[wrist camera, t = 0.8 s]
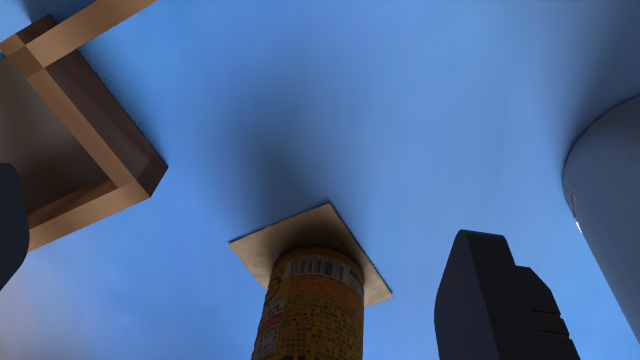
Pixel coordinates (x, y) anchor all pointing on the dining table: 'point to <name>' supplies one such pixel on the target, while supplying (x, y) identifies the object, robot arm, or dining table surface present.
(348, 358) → the condiment
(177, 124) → the dining table surface
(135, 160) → the wooden maze tray
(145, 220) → the dining table surface
